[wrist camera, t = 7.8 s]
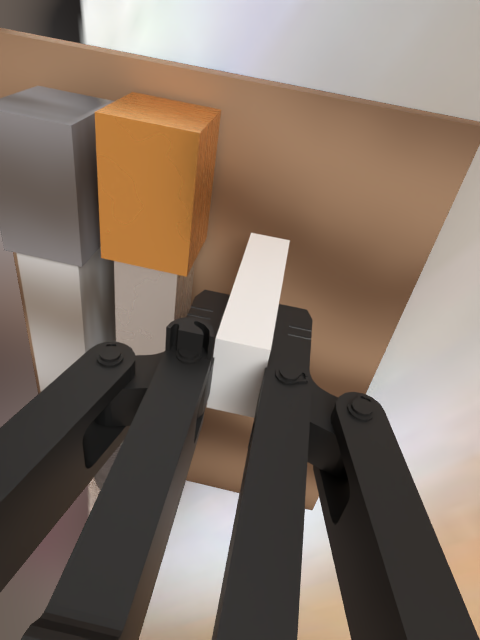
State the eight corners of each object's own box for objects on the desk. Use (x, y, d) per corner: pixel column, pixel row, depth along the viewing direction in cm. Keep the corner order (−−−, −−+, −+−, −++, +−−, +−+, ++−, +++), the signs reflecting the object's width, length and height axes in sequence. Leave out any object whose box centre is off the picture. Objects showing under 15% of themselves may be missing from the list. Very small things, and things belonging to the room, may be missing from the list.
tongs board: (312, 499, 30) (310, 566, 27) (54, 438, 31) (18, 495, 28) (480, 122, 16) (523, 160, 12) (-14, 24, 16) (-108, 34, 13)
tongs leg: (191, 458, 28) (173, 518, 25) (122, 441, 28) (96, 499, 25) (238, 112, 16) (214, 143, 13) (117, 87, 16) (63, 113, 13)
